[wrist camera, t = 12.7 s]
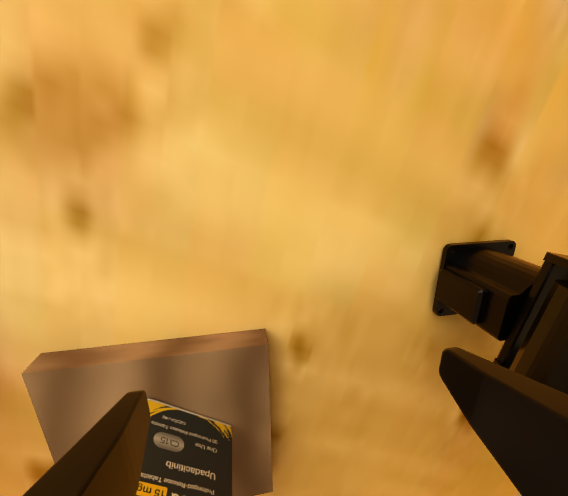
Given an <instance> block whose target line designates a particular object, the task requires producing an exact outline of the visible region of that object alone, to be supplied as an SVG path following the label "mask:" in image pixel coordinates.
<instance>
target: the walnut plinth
mask: <svg viewBox="0 0 568 496" xmlns="http://www.w3.org/2000/svg"><path fill="white" fill-rule="evenodd" d="M22 377H23V379H24V382H25V385H26V387H27V390H28V393H29V396H30V398H31V401H32V404H33V406H34V409H35V412H36V414H37V417H38V420H39V422H40V425H41V428H42V430H43V433H44V436H45V439H46V441H47V444H48V447H49V449H50V452H51V455H52V457H53V460H54V463H56V462H57V461H58V460H59V459H60V458H61V457H62V456H63V455H64V454H65V453H66V452H67V451H68V450H69V449H70V448H71V447H72V446H73V445H74V444H75V443H76V442H77V441H78V440H79V439H81V438H82V437H83V436H84V435H85V434H86V433H87V432H88V431H89V430H90V429H91V428H92V427H93V426H94V425H95V424H96V423H97V422H98V421H99V420H100V419H101V418H102V417H103V416H104V415H105V414H106V413H107V412H108V411H109V410H110V409H111V408H112V407H113V406H114V405H115V404H116V403H117V402H118V401H119V400H120V399H121V398H122V397H123V396H124V395H125V394H126V393H128V392H130V391H137V390H144V391H145V392H146V395H147V399H153V400H156V401H159V402H162V403H165V404H168V405H171V406H174V407H177V408H180V409H183V410H186V411H189V412H192V413H195V414H198V415H201V416H204V417H208V418H211V419H214V420H217V421H220V422H223V423H226V424H229V425H231V427H232V496H254V495H259V494H264V493H269V492H273V482H272V450H271V418H270V386H269V353H268V341H267V336H266V331H265V329H259V330H250V331H240V332H231V333H222V334H213V335H204V336H195V337H186V338H177V339H168V340H159V341H150V342H141V343H131V344H122V345H113V346H104V347H95V348H86V349H77V350H68V351H59V352H50V353H41V354H40V355H39V356H38V357H37V358H36V359H35V360H34V361H33V362H32V363H31V364H30V365H29V366H28V367H27V369H26V370H25V371H24V372H23V373H22Z"/></svg>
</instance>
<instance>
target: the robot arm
mask: <svg viewBox="0 0 568 496" xmlns="http://www.w3.org/2000/svg"><path fill="white" fill-rule="evenodd" d="M515 247H516V243H515V242H514V241H511V240H496V241H481V242H467V243H452V244H447V245H446V246H445V247H444V249H443V254H442V260H441V266H440V271H439V277H438V282H437V288H436V294H435V299H434V305H433V312H434V313H435V314H436V315H437V316H445V315H454V314H459V315H460V316H462V317H463V318H465V319H466V320H467V321H469V322H470V323H472V324H476V325H477V326H479V327H480V328H482V329H483V330H484V331H486V332H487V333H489V334H490V335H492V336H493V337H494V338H496V339H497V340H499V341H503V340H505V343H504V345H503V347H502V349H501V351H500V353H499V355H498V357H497V358H495V359H494V361H493V362H490V361H488V360H486V359H483V358H481V357H479V356H476V355H474V354H472V353H469V352H467V351H465V350H462V349H460V348H456V347H454V348H447V349H444V350H443V352H442V356H441V361H440V366H439V373H440V376H441V378H442V380H443V382H444V383H445V385H446V387H447V388H448V390H449V391H450V393H451V395H452V396H453V398H454V400H455V401H456V403H457V405H458V406H459V408H460V409H461V411H462V413H463V414H464V416H465V417H466V419H467V421H468V422H469V424H470V425H471V427H472V428H473V429H474V431H475V432H476V434H477V435H478V436H479V438H480V439H481V441H482V442H483V443H484V445H485V446H486V447H487V449H488V450H489V452H490V453H491V454H492V456H493V457H494V458H495V460H496V461H497V462H498V464H499V465H500V467H501V468H502V469H503V471H504V472H505V473H506V475H507V476H508V477H509V479H510V480H511V482H512V483H513V484H514V486H515V487H516V488H517V490H518V491H519V493H520V494H521V495H522V496H568V256H567V255H562V254H556V253H551V252H547V253H546V255H545V257H544V259H543V260H545V261H544V263H543V265H542V267H540V266H538V265H535V264H532V263H529V262H527V261H524V260H521V259H518V258H516V257H513V255H514V251H515ZM451 248H452V249H451ZM450 249H451V251H450ZM449 251H450V252H449ZM439 309H440V310H439ZM149 425H150V409H149V404H148V399H147V395H146V392H145V391H144V390H137V391H130V392H128V393H126V394H125V395H124V396H123V397H122V398H121V399H120V400H119V401H118V402H117V403H116V404H115V405H114V406H113V407H112V408H111V409H110V410H109V411H108V412H107V413H106V414H105V415H104V416H103V417H102V418H101V419H100V420H99V421H98V422H97V423H96V424H95V425H94V426H93V427H92V428H91V429H90V430H89V431H88V432H87V433H86V434H85V435H84V436H83V437H82V438H81V439H79V440H78V441H77V442H76V443H75V444H74V445H73V446H72V447H71V448H70V449H69V450H68V451H67V452H66V453H65V454H64V455H63V456H62V457H61V458H60V459H59V460H58V461H57V462H56V463H55V464H54V465H53V466H52V467H51V468H50V469H49V470H48V471H47V472H46V473H45V474H44V475H43V476H42V477H41V478H40V479H39V480H38V481H37V482H36V483H35V484H34V485H33V486H32V487H31V488H30V489H29V490H28V491H27V492H26V493H25V494H24V495H23V496H136V493H137V489H138V484H139V479H140V474H141V469H142V463H143V458H144V452H145V447H146V441H147V436H148V430H149Z"/></svg>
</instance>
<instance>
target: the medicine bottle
mask: <svg viewBox="0 0 568 496" xmlns="http://www.w3.org/2000/svg"><path fill="white" fill-rule="evenodd" d="M148 404H149V409H150V425H149V430H148V436H147V441H146V447H145V452H144V458H143V463H142V469H141V474H140V479H139V484H138V489H137V493H136V496H232V427H231V425H229V424H226V423H223V422H220V421H217V420H214V419H211V418H208V417H204V416H201V415H198V414H195V413H192V412H189V411H186V410H183V409H180V408H177V407H174V406H171V405H168V404H165V403H162V402H159V401H156V400H153V399H148Z"/></svg>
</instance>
